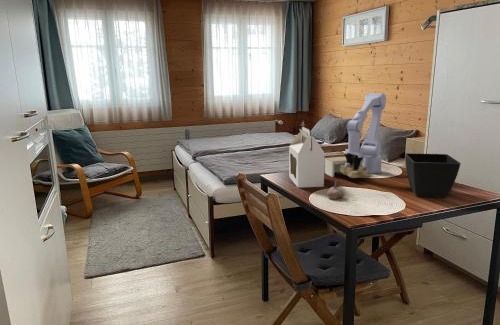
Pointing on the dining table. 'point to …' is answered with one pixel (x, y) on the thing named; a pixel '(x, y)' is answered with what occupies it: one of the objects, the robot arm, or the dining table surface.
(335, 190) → the garlic bulb
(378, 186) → the dining table surface
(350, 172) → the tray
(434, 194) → the flower pot
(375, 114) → the robot arm
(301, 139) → the gable box
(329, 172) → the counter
